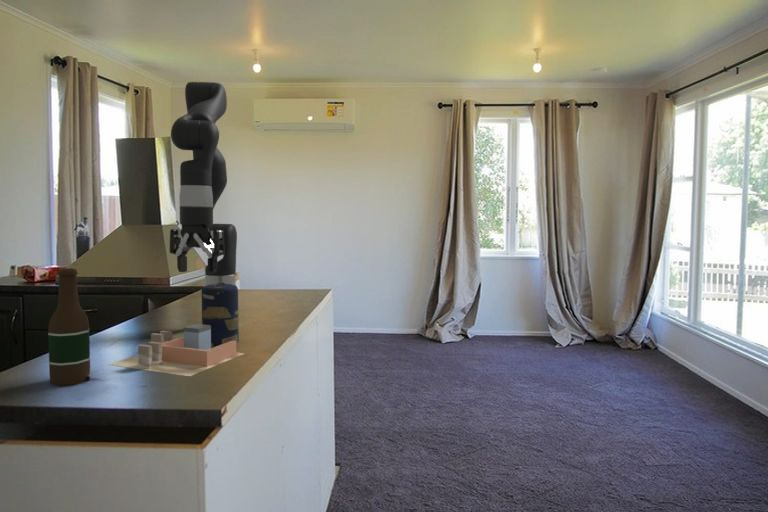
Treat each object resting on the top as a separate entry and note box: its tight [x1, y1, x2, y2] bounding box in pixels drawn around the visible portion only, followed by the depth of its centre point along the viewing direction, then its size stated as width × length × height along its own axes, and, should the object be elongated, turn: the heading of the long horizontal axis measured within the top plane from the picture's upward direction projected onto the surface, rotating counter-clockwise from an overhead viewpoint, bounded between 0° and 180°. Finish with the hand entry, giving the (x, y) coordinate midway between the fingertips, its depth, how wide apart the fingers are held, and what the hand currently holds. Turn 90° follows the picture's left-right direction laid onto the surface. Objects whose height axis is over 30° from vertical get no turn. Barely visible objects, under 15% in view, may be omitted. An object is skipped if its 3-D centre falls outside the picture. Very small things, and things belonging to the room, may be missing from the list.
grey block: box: [183, 323, 212, 350], centre depth 124 cm, size 4×4×7 cm
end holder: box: [162, 335, 240, 367], centre depth 124 cm, size 12×15×4 cm
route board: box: [107, 330, 245, 377], centre depth 123 cm, size 20×23×6 cm
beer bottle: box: [47, 268, 91, 387], centre depth 108 cm, size 8×8×24 cm
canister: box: [201, 282, 240, 348], centre depth 138 cm, size 10×10×18 cm
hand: (197, 272), depth 123 cm, fingers open, 8 cm apart
